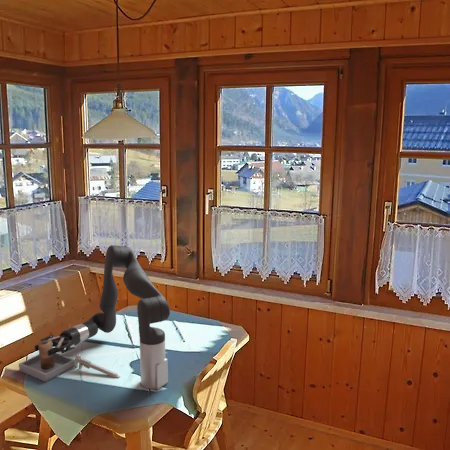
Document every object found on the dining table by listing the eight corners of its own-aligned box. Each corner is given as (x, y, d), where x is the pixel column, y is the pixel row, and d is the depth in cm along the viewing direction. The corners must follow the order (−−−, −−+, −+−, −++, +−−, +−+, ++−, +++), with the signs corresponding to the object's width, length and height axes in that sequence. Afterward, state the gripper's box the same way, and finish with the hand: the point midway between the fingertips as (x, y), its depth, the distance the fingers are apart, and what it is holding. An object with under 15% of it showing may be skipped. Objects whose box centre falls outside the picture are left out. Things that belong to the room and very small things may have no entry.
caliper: (74, 369, 189) (73, 354, 187) (76, 368, 190) (75, 353, 188) (118, 378, 182) (118, 363, 180) (120, 377, 182) (119, 362, 181)
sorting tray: (75, 366, 190) (75, 359, 189) (46, 382, 178) (45, 374, 178) (49, 356, 198) (48, 349, 197) (19, 370, 186) (18, 363, 186)
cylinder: (57, 364, 189) (54, 341, 186) (46, 370, 185) (43, 346, 182) (48, 361, 191) (46, 338, 189) (38, 367, 187) (35, 343, 185)
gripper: (62, 323, 201) (28, 337, 187) (86, 331, 194) (53, 346, 180) (63, 340, 203) (30, 355, 189) (87, 348, 195) (54, 364, 182)
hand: (41, 350), depth 185 cm, fingers open, 7 cm apart
